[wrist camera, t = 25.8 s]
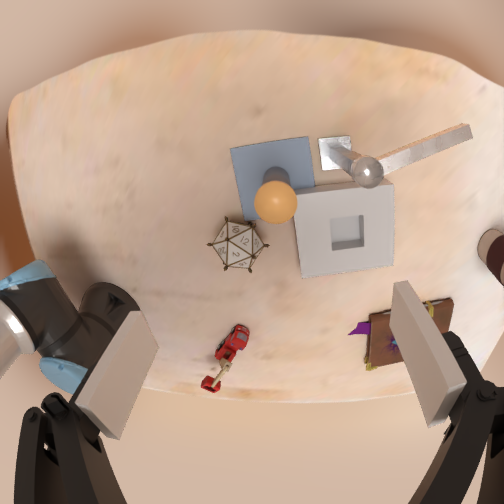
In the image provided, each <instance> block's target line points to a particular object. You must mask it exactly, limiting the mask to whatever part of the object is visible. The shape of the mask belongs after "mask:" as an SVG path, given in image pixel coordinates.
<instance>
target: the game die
mask: <svg viewBox="0 0 504 504" xmlns="http://www.w3.org/2000/svg"><path fill="white" fill-rule="evenodd" d="M225 221H226V223H225V225H224V226H223V228H222V229H221V231H220V232H219V234H218V236H217V237H216V239H215V240H214V242H213V243H208V244H206V245H208V246H213V248H214V249H215V251H216V252H217V253H218V255H219V256H220V258H221V259H222V261H223V264H225V265H226V266H225V267H224V271H225V270H227V269H228V267H236V268H248V271H249V272H251V273H252V270H251V268H250V267H251V266H252V264H253V263H254V261H255V260H256V258H257V257H258V255H259V254H260V252H261V251H262V249H263V248H264V247H268V246H270V245H268V244H264V243H263V242H262V240H261V239H260V237H259V236H258V234H257V233H256V231H255V229H254V227H255V226H256V223H254V224H253V225H252V223H251V222H249V223H248V225H246V224H241V223H236V222H231V221H228V217H226V216H225ZM251 225H252V226H251Z"/></svg>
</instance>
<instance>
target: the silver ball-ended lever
mask: <svg viewBox="0 0 504 504" xmlns="http://www.w3.org/2000/svg"><path fill="white" fill-rule="evenodd" d="M472 138H473V136H472V133H471V129H470V126H469V124H463V123H462V124H459V125H456V126H454V127H451V128H448V129H446V130H443V131H441V132H438V133H436V134H433V135H430V136H428V137H425V138H423V139H420V140H418V141H415V142H413V143H410V144H408V145H405V146H403V147H401V148H398V149H396V150H393V151H391V152H388V153H386V154H384V155H381V156H379V157H376V158H372V157H370V156H366V155H363V156H359V157H357V158H356V159H355V160H354V161H353V163H352V165H351V169H350V172H351V176H352V178H353V180H354V181H355V182H356V183H357V184H359V185H360V186H361V187H363V188H366V189H372V188H375V187H377V186H378V185H379V184H380V183H381V182H382V180H383V177H384V175H386V174H388V173H391V172H393V171H395V170H398V169H400V168H402V167H405V166H407V165H409V164H412V163H414V162H416V161H419V160H421V159H423V158H426V157H428V156H431V155H433V154H435V153H438V152H440V151H442V150H445V149H447V148H450V147H452V146H455V145H457V144H459V143H462V142H464V141H467V140H469V139H472Z"/></svg>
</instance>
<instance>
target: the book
mask: <svg viewBox="0 0 504 504" xmlns="http://www.w3.org/2000/svg"><path fill="white" fill-rule="evenodd" d="M424 306H425V308H426V310H427V311H428V313H429V314H430V316H431V318H432V319H433V321H434V323H435V324H436V326H437V328H438V329H439V331H440V333H445V332H448V330H449V326H450V321H451V317H452V312H453V307H454V303H453V300H452V299H447V300H442V301H437V302H433V303H430V302H429V301H426V302H425V304H424ZM390 316H391V311H389V312H385V313H380V314H374V315H369V322H368V323H363V322H359V323H358V325H357V327H356V330H355V329H354V330H353V331H352V332H351V333H350V334H348V335H353V334H368V340H367V354H366V357H365V364H367V365H366V371H371V370H373V369H376V368H377V367H380V366H384V365H389V364H394V363H398V362H403V361H404V359H403V357H402V355H401V352H400V350H399V347H398V345H397V342H396V340H395V338H394V335H393V333H392V331H391V328H390V326H389V324H390ZM404 363H405V362H404Z"/></svg>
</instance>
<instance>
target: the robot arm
mask: <svg viewBox="0 0 504 504" xmlns="http://www.w3.org/2000/svg"><path fill="white" fill-rule="evenodd" d="M56 278H57V277H56V275H54V274H53V273H52V271H51V270H50V268H49V266H48V265H47V263H46V262H45V261H43V260H36V261H33V262H31V263H30V264H28V265H26V266H24V267H22V268H21V269H19V270H17V271H15V272H14V273H12V274H11V275H9V276H8V277H6V278H4V279H3V280H1V281H0V379H1V377H2V376H3V375H4V374H5V372H6V371H7V370H8V369H9V368H10V366H11V365H12V364H13V363H14V361H15V360H16V359H17V358H18V357H19V356H20V354H23V353H24V354H33V353H34V352H35V351H36V350H37V351H38V352H39V353H40V355H41V356H42V358H41V359H40V364H39V366H40V369H41V371H42V373H43V374H44V375H45V376H46V377H47V379H49V380H50V381H51V382H52V383H53V384H55V385H56V386H57V387H59V388H61V389H62V390H64V391H66V392H68V393H70V394H73V396H72V398H71V399H70V401H69V403H68V402H67V401H66V400H65V399H64V398H63V396H62V395H61V394H59V393H56V392H54V393H51V394H49V395H47V396H46V397H45V398H44V399H43V401H42V404H41V408H42V409H43V410H44V411H45V412H46V413H43V412H42V411H41V410H40V409H39V408H38V407H32V408H30V409H28V410H27V411H26V413H25V414H24V417H23V422H22V427H21V432H20V439H19V445H18V453H17V461H16V472H15V486H14V504H127V503H126V501H125V498H124V496H123V494H122V492H121V489H120V487H119V485H118V483H117V480H116V478H115V475H114V473H113V470H112V467H111V465H110V463H109V460H108V457H107V454H106V451H105V448H104V445H103V442H102V439H101V438H100V436H98V435H99V433H100V431H101V432H102V433H103V434H104V435H105V436H106V437H109V438H113V439H117V440H120V437H121V434H122V432H123V430H124V427H125V425H126V422H127V420H128V418H129V415H130V413H131V410H132V408H133V405H134V403H135V401H136V399H137V396H138V394H139V392H140V389H141V387H142V385H143V382H144V380H145V378H146V375H147V373H148V371H149V369H150V366H151V364H152V362H153V360H154V357H155V355H156V353H157V351H158V349H159V346H158V344H157V342H156V340H155V338H154V336H153V334H152V332H151V330H150V328H149V326H148V324H147V322H146V319H145V317H144V315H143V313H142V311H140V309H139V307H138V305H137V304H136V302H135V301H134V300H133V299H132V298H131V297H130V295H128V294H127V293H126V292H125V291H124V290H122V289H121V288H119V287H117V286H115V285H112V284H109V283H96V284H94V285H92V286H91V287H90V288H89V289H88V290H87V291H86V293H85V294H84V296H83V299H82V303H81V305H80V308H79V311H77V310H76V308H75V307H74V305H73V304H72V302H71V301H70V299H69V298H68V296H67V295H66V293H65V292H64V290H63V288H62V287H61V285H60V284H59V282H58V280H57V279H56ZM389 326H390V328H391V331H392V333H393V335H394V338H395V340H396V342H397V345H398V347H399V350H400V352H401V355H402V357H403V359H404V362H405V365H406V367H407V370H408V372H409V375H410V377H411V380H412V383H413V385H414V388H415V391H416V394H417V396H418V399H419V402H420V405H421V408H422V411H423V414H424V417H425V420H426V423H427V426H428V427H432V426H435V425H438V424H441V423H444V422H445V420H446V419H447V417H448V415H449V417H450V420H451V424H450V425H449V427H448V428H447V430H446V431H445V433H444V434H445V437H444V439H443V441H442V443H441V446H440V448H439V450H438V452H437V454H436V456H435V458H434V460H433V462H432V464H431V466H430V468H429V469H428V471H427V473H426V475H425V477H424V479H423V480H422V482H421V484H420V485H419V487H418V489H417V490H416V492H415V494H414V495H413V497H412V498H411V500H410V502H409V503H408V504H461V502H462V500H463V499H464V496H465V494H466V492H467V490H468V488H469V486H470V483H471V481H472V479H473V477H474V474H475V472H476V470H477V467H478V465H479V462H480V459H481V457H482V454H483V451H484V448H485V445H486V442H487V450H486V458H485V465H484V471H483V477H482V483H481V488H480V492H479V497H478V501H477V504H504V387H496V386H495V385H494V383H492V382H490V381H485V380H484V379H483V377H482V376H481V374H480V372H479V370H478V368H477V367H476V365H475V363H474V361H473V359H472V358H471V356H470V354H468V351H467V349H466V348H465V347H464V344H463V343H462V341H461V339H460V338H459V337H458V336H457V335H456V334H454V333H453V332H452V331H449V332H445V333H440V331H439V329H438V328H437V326H436V324H435V323H434V321H433V319H432V318H431V316H430V314H429V313H428V311H427V310H426V308H425V306H424V305H423V303H422V302H421V300H420V299H419V297H418V296H417V294H416V292H415V291H414V289H413V288H412V286H411V285H410V283H409V282H408V280H407V281H402V282H396V283H394V287H393V298H392V307H391V316H390V324H389ZM487 439H488V440H487ZM44 443H45V444H46V445H47V446H48V448H47V450H46V449H45V448H44Z"/></svg>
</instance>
